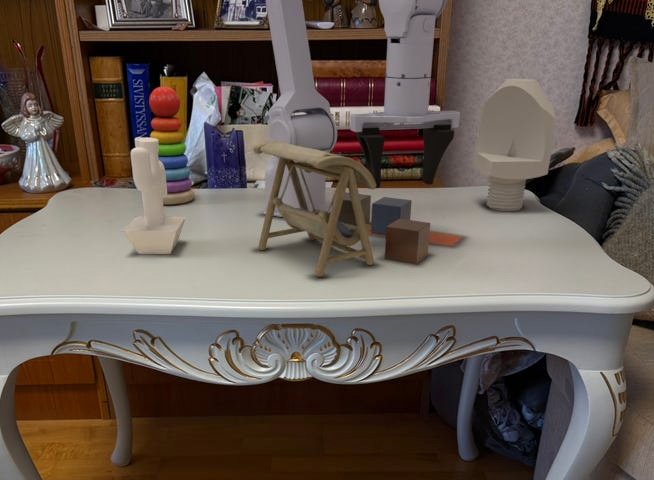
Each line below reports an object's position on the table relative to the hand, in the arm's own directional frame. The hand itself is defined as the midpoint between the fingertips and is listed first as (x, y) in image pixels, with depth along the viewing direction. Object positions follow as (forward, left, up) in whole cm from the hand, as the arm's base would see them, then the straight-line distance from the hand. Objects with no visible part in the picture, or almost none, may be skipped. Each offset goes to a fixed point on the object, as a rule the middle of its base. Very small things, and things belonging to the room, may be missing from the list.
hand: (401, 184), depth 91 cm
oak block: (-10, +5, -8) cm, 14 cm away
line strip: (-3, +5, -8) cm, 10 cm away
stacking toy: (-45, +5, -9) cm, 46 cm away
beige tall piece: (+8, +28, -9) cm, 30 cm away
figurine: (-29, -18, -9) cm, 35 cm away
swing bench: (-8, -11, -9) cm, 16 cm away
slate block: (-3, +5, -8) cm, 10 cm away
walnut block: (+3, -5, -8) cm, 10 cm away
